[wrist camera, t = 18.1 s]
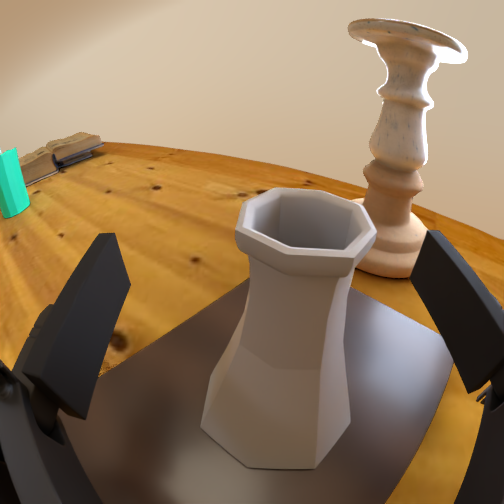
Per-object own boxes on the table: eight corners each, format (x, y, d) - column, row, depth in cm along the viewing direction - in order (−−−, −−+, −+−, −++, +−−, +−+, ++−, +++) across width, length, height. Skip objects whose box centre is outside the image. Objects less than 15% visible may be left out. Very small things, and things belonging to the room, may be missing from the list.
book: (11, 194, 42) (4, 169, 38) (11, 180, 51) (6, 160, 47) (106, 154, 56) (102, 130, 53) (88, 148, 66) (85, 128, 62)
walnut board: (246, 616, 3) (246, 626, 2) (61, 418, 11) (48, 407, 10) (449, 357, 15) (459, 344, 14) (284, 267, 23) (285, 252, 22)
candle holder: (428, 298, 19) (491, 41, 8) (298, 249, 25) (312, 9, 13) (435, 233, 28) (468, 63, 16) (342, 201, 33) (357, 38, 22)
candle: (32, 205, 35) (15, 139, 28) (4, 221, 32) (-16, 154, 25) (28, 198, 38) (13, 138, 31) (2, 212, 34) (-15, 152, 28)
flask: (326, 491, 8) (485, 396, 2) (175, 435, 10) (71, 265, 5) (362, 366, 14) (434, 193, 8) (241, 330, 16) (234, 154, 10)
